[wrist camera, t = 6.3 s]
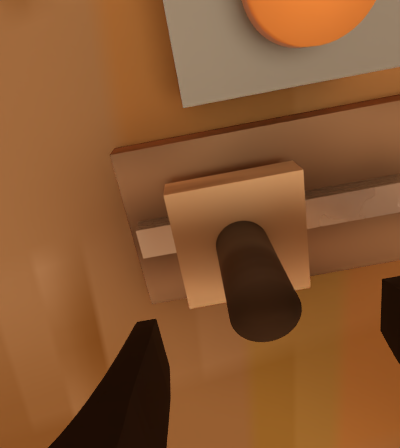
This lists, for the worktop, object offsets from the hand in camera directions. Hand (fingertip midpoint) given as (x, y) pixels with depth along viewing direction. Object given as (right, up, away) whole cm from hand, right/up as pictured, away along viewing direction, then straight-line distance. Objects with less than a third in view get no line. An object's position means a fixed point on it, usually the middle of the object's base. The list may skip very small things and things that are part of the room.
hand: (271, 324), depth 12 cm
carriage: (0, +3, +8) cm, 8 cm away
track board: (+5, +5, +9) cm, 11 cm away
